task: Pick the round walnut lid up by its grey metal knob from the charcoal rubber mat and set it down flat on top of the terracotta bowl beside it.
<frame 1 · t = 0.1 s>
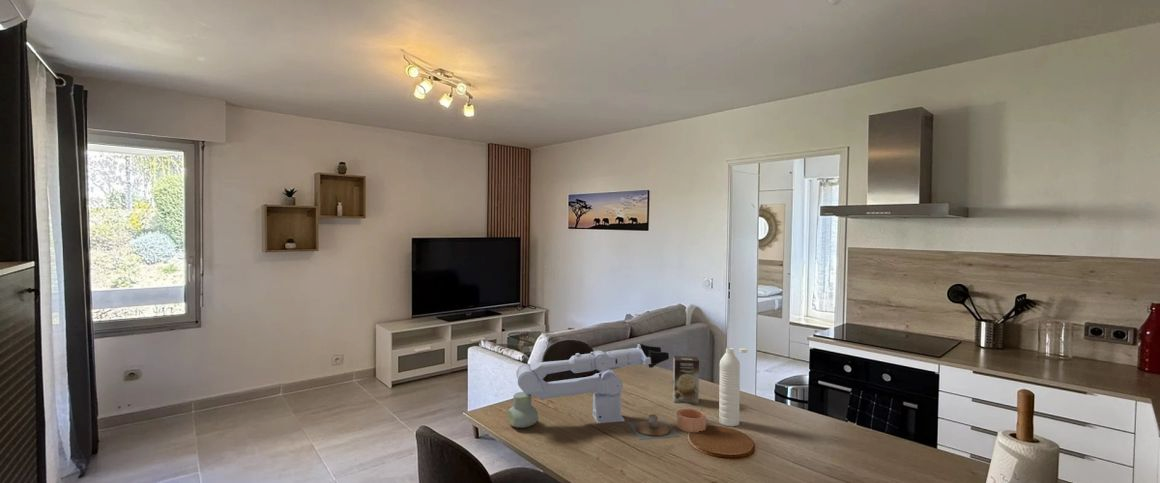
hand: (664, 353, 167), 22 cm above the table, tool horizontal, fingers open, 7 cm apart
coffee box: (685, 400, 181), on the table
water bottle: (732, 423, 160), on the table
mat: (653, 430, 154), on the table
bowl: (691, 427, 156), on the table
lid: (653, 429, 154), resting on mat
air freshener: (522, 425, 159), on the table
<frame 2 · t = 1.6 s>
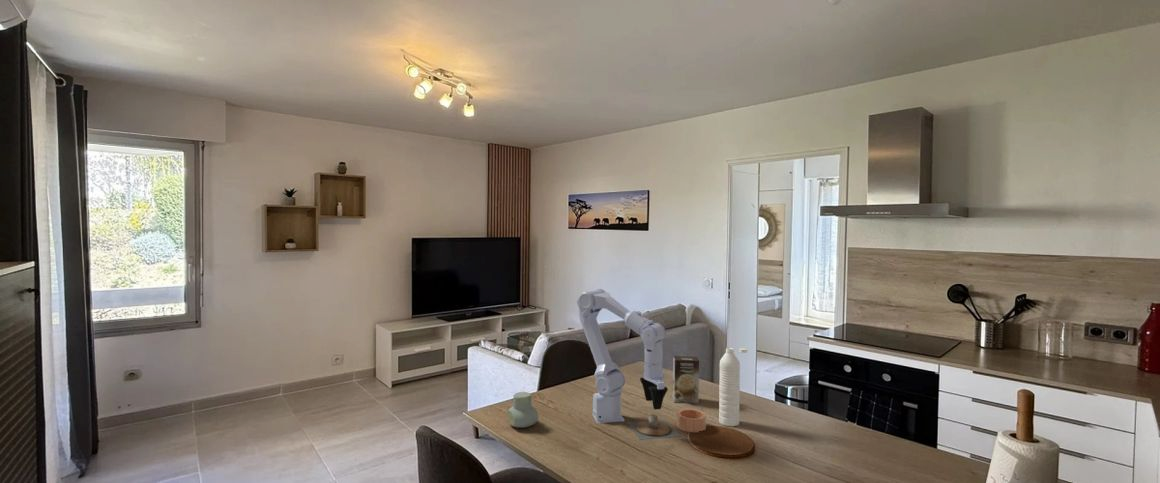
hand: (653, 404, 154), 8 cm above the table, tool pointing down, fingers open, 7 cm apart
nothing on the table moved.
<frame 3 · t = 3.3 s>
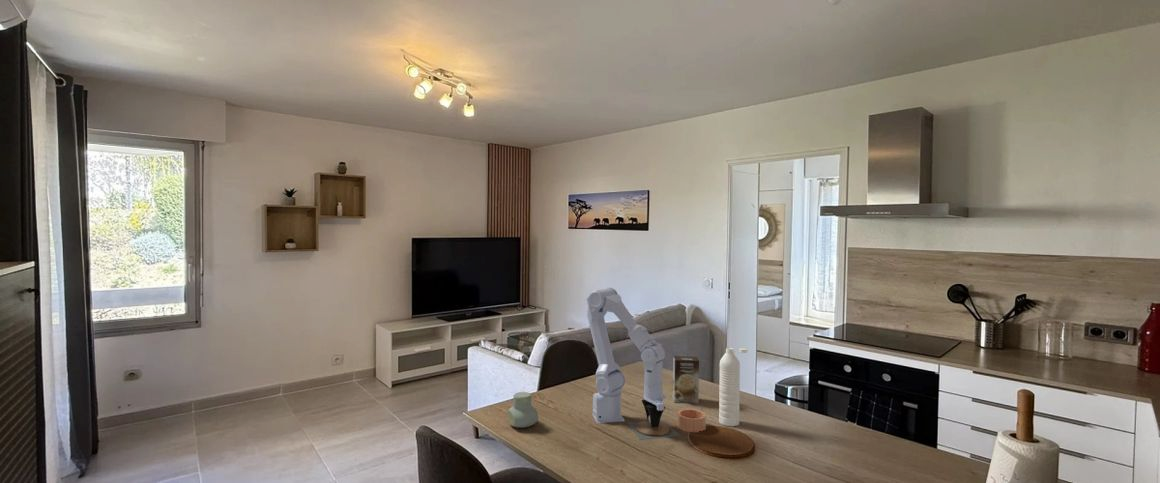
hand: (653, 424, 154), 2 cm above the table, tool pointing down, fingers closed on lid, 3 cm apart
lid: (653, 429, 154), point 1 cm above the table, touching gripper, mat
everything else where it was.
when the fingers open (7 cm above the table, at t = 6.4 s): lid stays where it is, resting on bowl.
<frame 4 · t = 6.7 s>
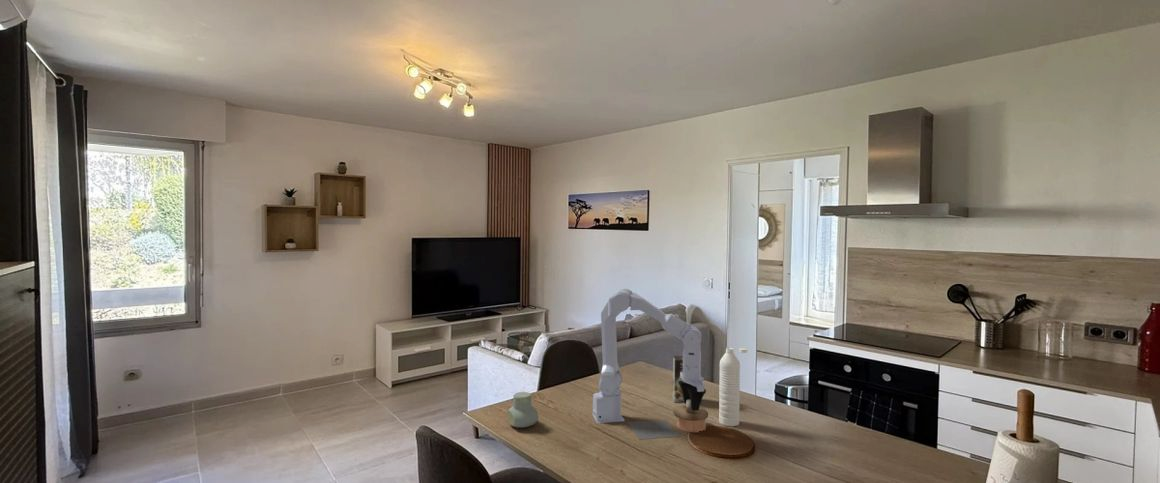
hand: (691, 406, 156), 7 cm above the table, tool pointing down, fingers open, 5 cm apart
lid: (690, 413, 156), point 4 cm above the table, touching bowl
everything else where it was.
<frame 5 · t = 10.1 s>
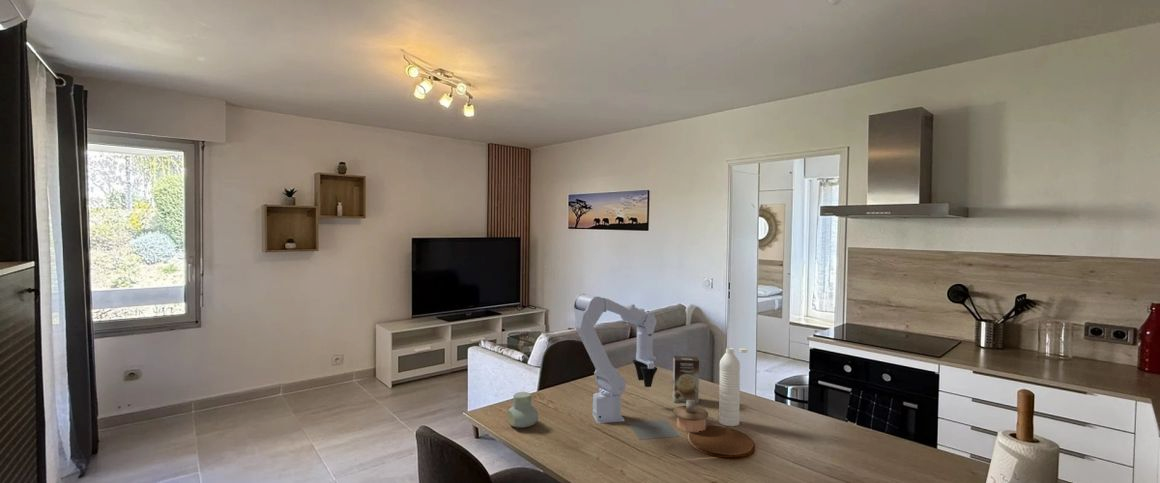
hand: (644, 383, 172), 9 cm above the table, tool pointing down, fingers open, 7 cm apart
nothing on the table moved.
at the end: lid 0.3 cm off-centre on the bowl, point 4.5 cm above the bowl's base; lid tilted 0°; the gripper is holding nothing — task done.
